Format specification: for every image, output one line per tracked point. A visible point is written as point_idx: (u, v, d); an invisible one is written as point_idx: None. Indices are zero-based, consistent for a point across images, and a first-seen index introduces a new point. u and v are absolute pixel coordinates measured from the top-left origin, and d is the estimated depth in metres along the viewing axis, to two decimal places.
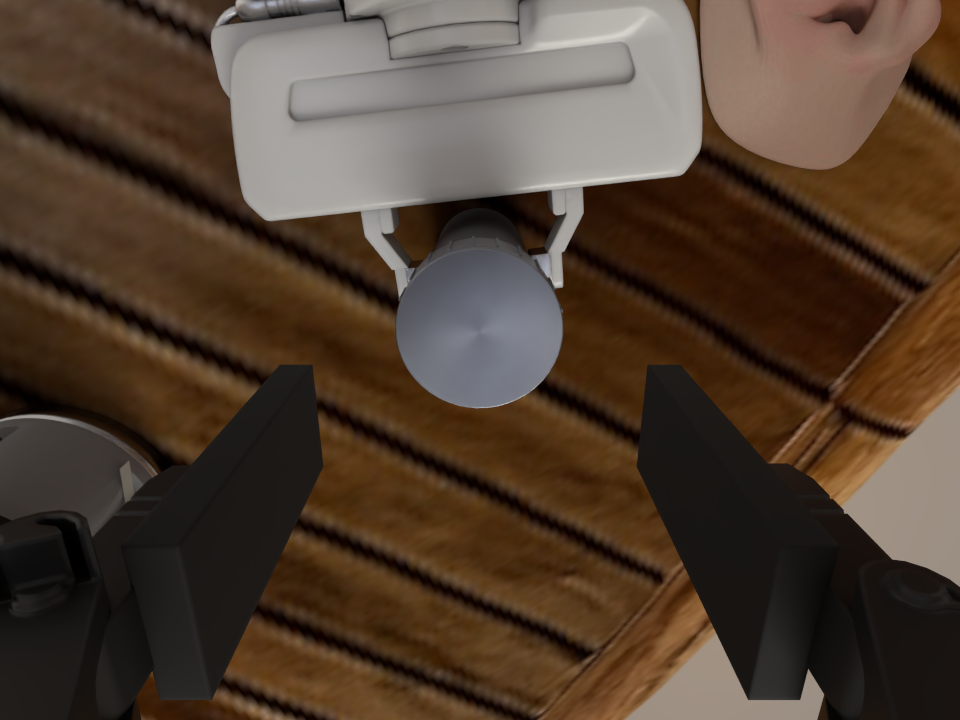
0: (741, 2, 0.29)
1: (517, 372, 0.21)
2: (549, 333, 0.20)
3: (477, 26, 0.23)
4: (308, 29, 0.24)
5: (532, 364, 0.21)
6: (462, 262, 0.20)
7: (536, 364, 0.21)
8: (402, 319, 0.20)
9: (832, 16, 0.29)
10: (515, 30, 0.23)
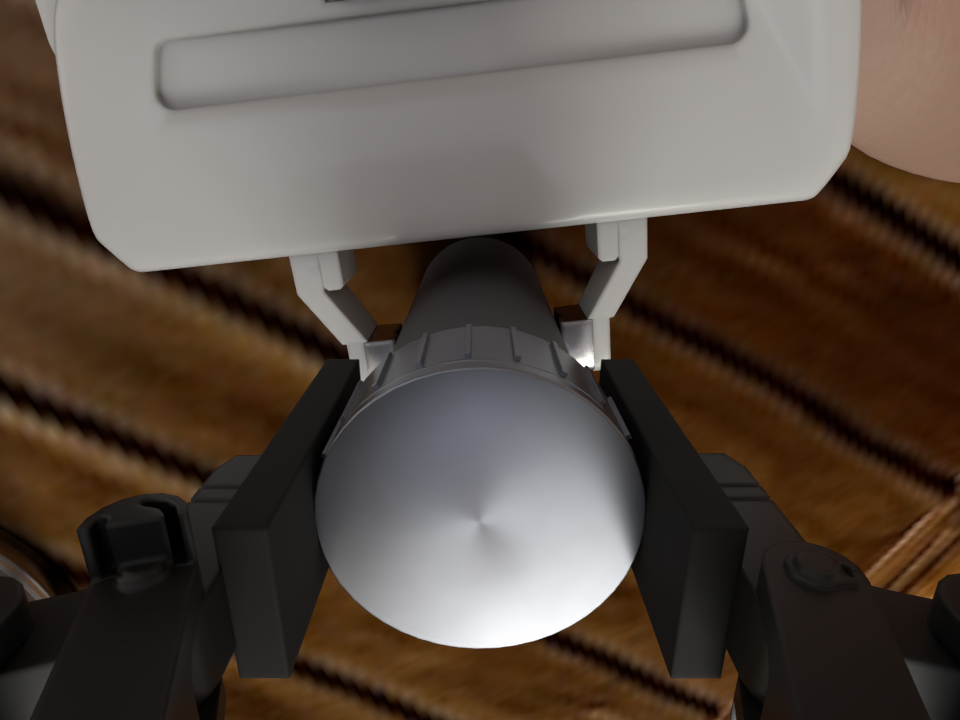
0: None
1: (553, 590, 0.11)
2: (618, 524, 0.10)
3: None
4: None
5: (583, 578, 0.11)
6: (445, 394, 0.09)
7: (590, 577, 0.11)
8: (326, 499, 0.10)
9: None
10: None
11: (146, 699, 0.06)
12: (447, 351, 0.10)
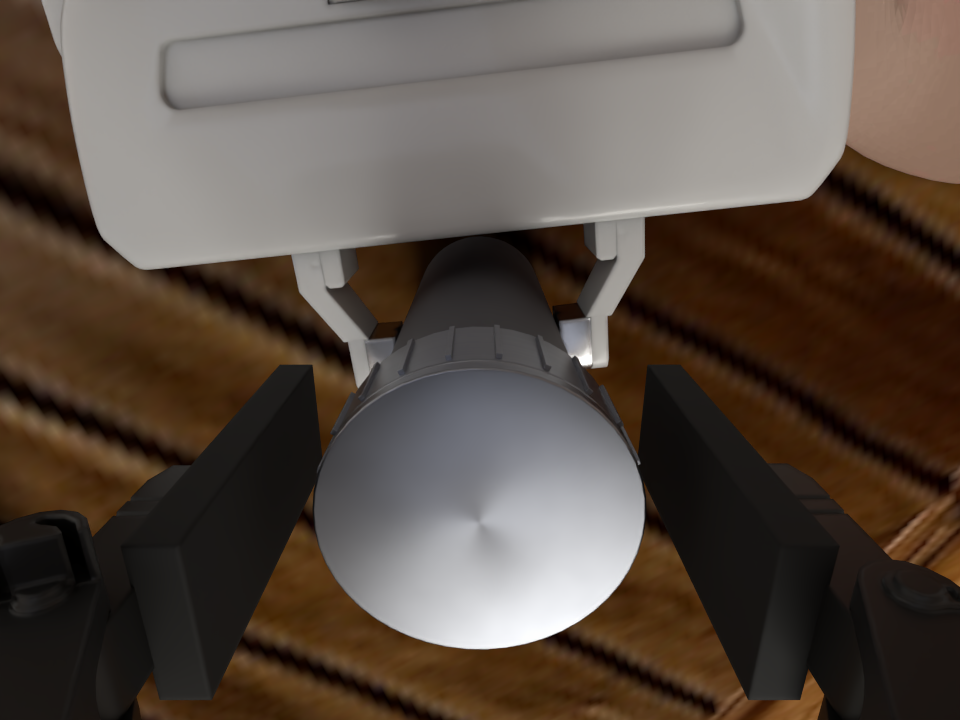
0: None
1: (588, 483, 0.10)
2: (530, 403, 0.10)
3: None
4: None
5: (584, 452, 0.10)
6: (336, 511, 0.10)
7: (586, 445, 0.10)
8: (411, 627, 0.11)
9: None
10: None
11: None
12: None
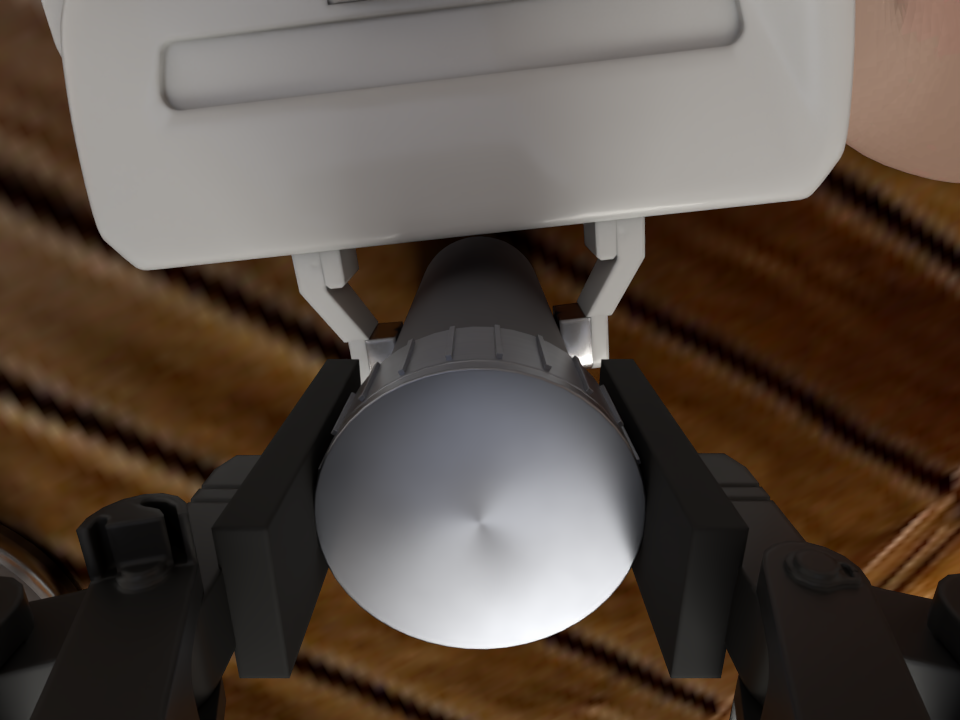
0: None
1: (589, 483, 0.10)
2: (530, 403, 0.10)
3: None
4: None
5: (584, 452, 0.10)
6: (336, 511, 0.10)
7: (587, 445, 0.10)
8: (412, 627, 0.11)
9: None
10: None
11: (146, 699, 0.06)
12: None
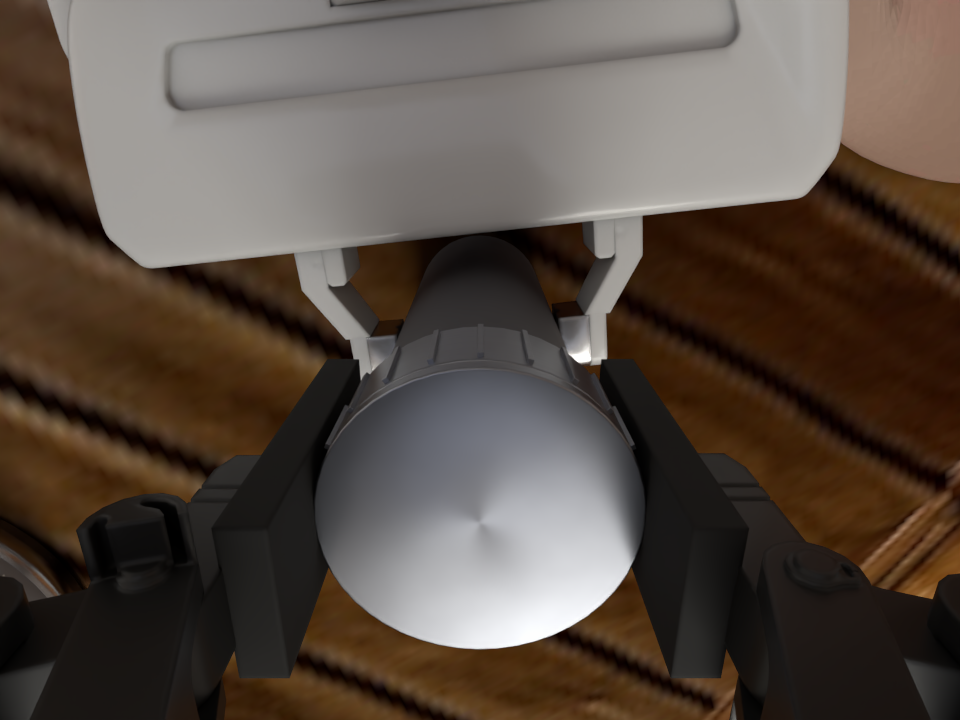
0: None
1: (469, 419, 0.10)
2: (364, 446, 0.10)
3: None
4: None
5: (432, 415, 0.10)
6: (425, 624, 0.11)
7: (424, 410, 0.10)
8: (578, 610, 0.11)
9: None
10: None
11: (146, 699, 0.06)
12: None
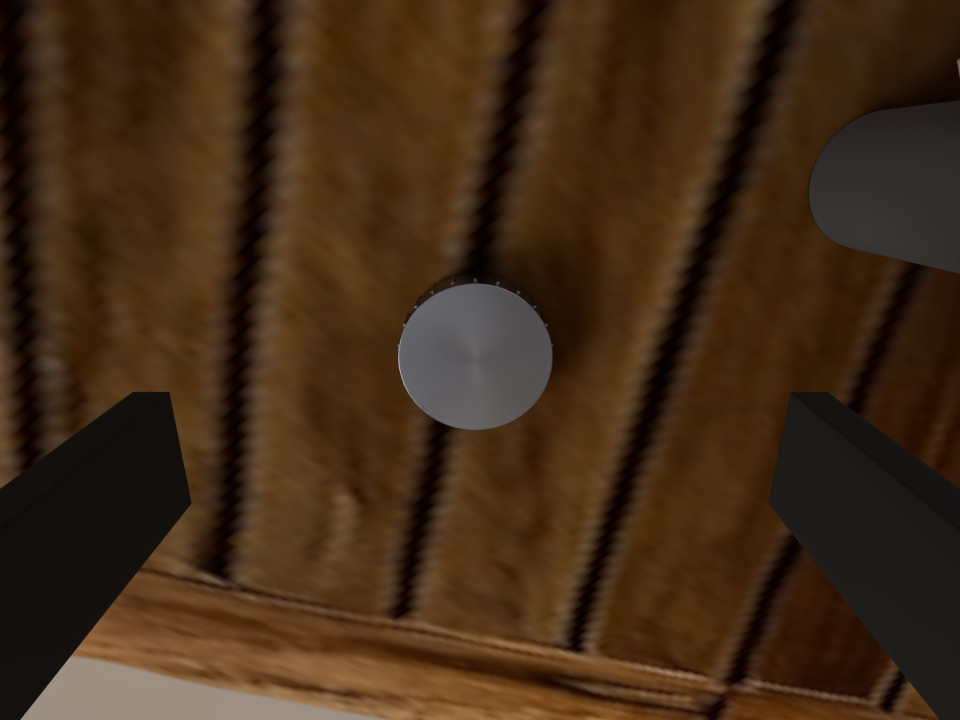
0: None
1: (470, 307, 0.22)
2: (423, 321, 0.22)
3: None
4: None
5: (453, 305, 0.22)
6: (449, 415, 0.23)
7: (450, 303, 0.21)
8: (523, 407, 0.23)
9: None
10: None
11: None
12: None
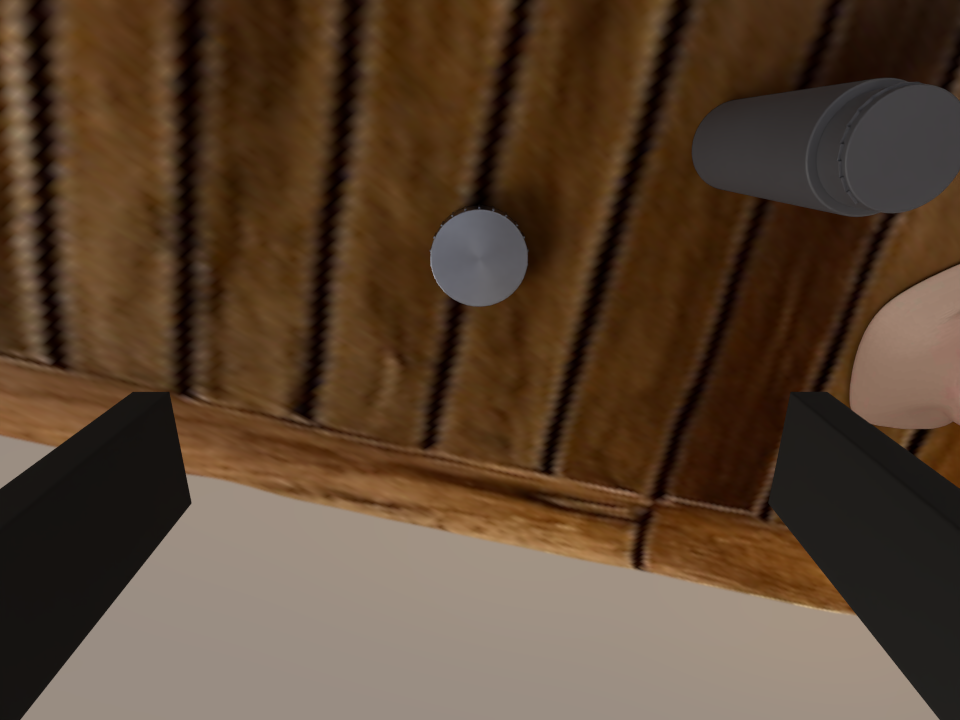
0: None
1: (476, 225, 0.34)
2: (446, 234, 0.35)
3: None
4: None
5: (465, 223, 0.34)
6: (462, 296, 0.36)
7: (463, 222, 0.34)
8: (509, 291, 0.36)
9: None
10: None
11: None
12: None
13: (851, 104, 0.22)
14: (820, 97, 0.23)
